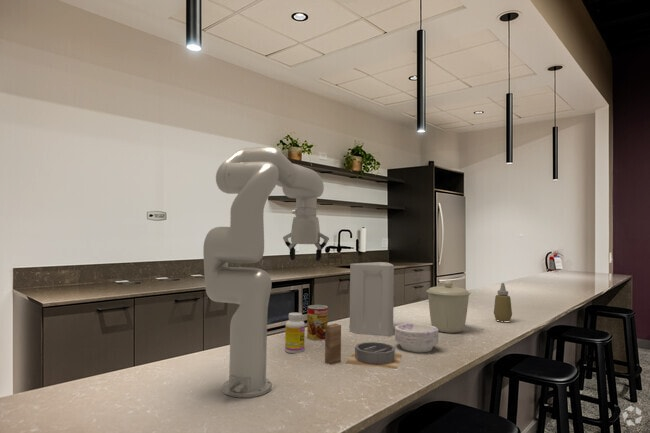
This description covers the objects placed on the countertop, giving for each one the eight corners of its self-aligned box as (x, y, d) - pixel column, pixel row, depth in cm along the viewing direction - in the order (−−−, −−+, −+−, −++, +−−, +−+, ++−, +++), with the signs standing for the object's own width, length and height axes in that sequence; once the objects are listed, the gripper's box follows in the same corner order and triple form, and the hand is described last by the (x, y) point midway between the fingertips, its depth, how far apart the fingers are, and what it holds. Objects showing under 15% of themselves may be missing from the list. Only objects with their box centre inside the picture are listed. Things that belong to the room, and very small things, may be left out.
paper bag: (374, 339, 162) (375, 266, 163) (348, 331, 174) (349, 263, 175) (406, 332, 174) (407, 264, 175) (380, 325, 186) (381, 262, 187)
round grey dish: (402, 358, 136) (402, 348, 136) (377, 367, 127) (378, 355, 127) (372, 350, 145) (372, 340, 145) (347, 357, 136) (347, 346, 136)
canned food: (318, 341, 158) (319, 309, 158) (302, 337, 163) (303, 306, 163) (331, 337, 164) (331, 306, 165) (315, 334, 169) (316, 304, 169)
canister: (479, 332, 176) (479, 281, 177) (451, 337, 166) (451, 284, 167) (445, 323, 191) (445, 277, 192) (417, 328, 181) (417, 279, 182)
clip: (387, 356, 136) (387, 348, 136) (375, 360, 132) (375, 352, 132) (374, 353, 140) (374, 345, 140) (362, 356, 136) (362, 349, 136)
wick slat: (340, 363, 132) (341, 325, 133) (330, 366, 129) (331, 327, 130) (335, 361, 134) (335, 323, 135) (324, 364, 131) (325, 325, 131)
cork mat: (397, 370, 126) (397, 368, 126) (345, 365, 131) (345, 363, 131) (402, 355, 142) (402, 353, 142) (355, 351, 146) (355, 349, 146)
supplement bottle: (301, 354, 141) (302, 316, 141) (282, 353, 142) (283, 315, 143) (306, 349, 147) (306, 312, 148) (288, 347, 149) (288, 311, 149)
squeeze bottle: (491, 319, 202) (491, 281, 203) (509, 320, 201) (509, 282, 202) (496, 323, 194) (496, 284, 195) (514, 323, 193) (514, 284, 194)
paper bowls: (405, 341, 160) (405, 320, 160) (444, 348, 151) (444, 326, 151) (387, 350, 147) (387, 327, 148) (428, 358, 139) (428, 334, 139)
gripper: (280, 212, 153) (279, 260, 152) (326, 213, 149) (325, 261, 148) (287, 213, 160) (286, 258, 159) (331, 213, 156) (330, 260, 155)
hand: (305, 260), depth 154 cm, fingers open, 9 cm apart
